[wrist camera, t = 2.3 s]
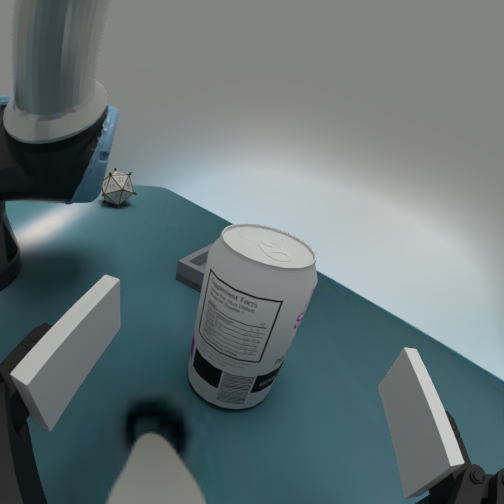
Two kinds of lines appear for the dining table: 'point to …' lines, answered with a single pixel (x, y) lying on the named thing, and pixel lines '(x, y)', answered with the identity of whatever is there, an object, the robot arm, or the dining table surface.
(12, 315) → the dining table surface
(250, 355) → the supplement can
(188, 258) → the tray
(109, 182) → the game die
